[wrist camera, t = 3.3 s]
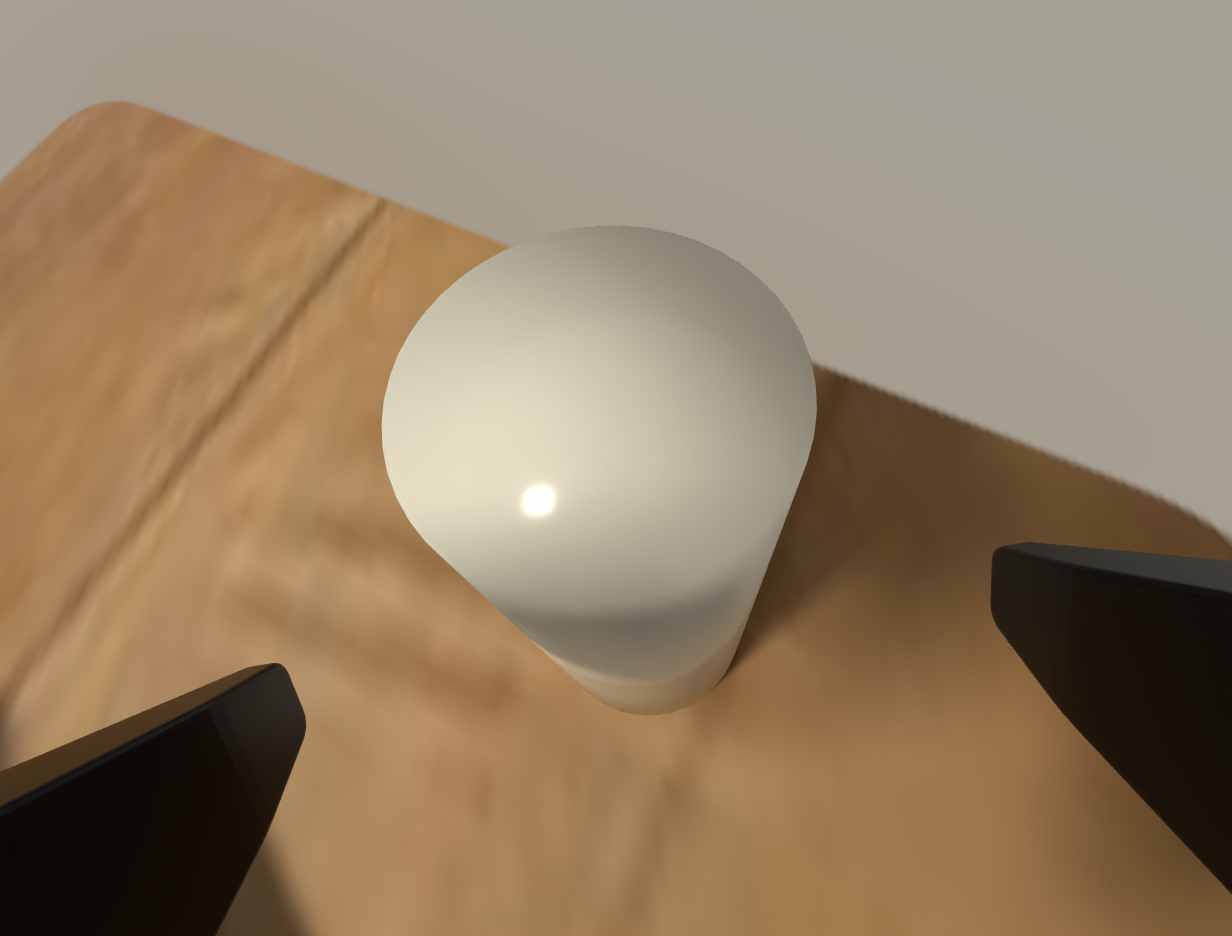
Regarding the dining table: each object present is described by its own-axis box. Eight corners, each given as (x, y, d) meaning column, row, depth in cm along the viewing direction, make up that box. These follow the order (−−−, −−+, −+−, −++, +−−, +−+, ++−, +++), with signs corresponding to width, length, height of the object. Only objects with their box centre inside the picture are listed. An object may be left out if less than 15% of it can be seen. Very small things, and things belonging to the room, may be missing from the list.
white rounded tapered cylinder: (779, 634, 19) (915, 418, 8) (630, 757, 18) (535, 714, 7) (661, 498, 21) (634, 167, 10) (521, 602, 20) (311, 369, 9)
